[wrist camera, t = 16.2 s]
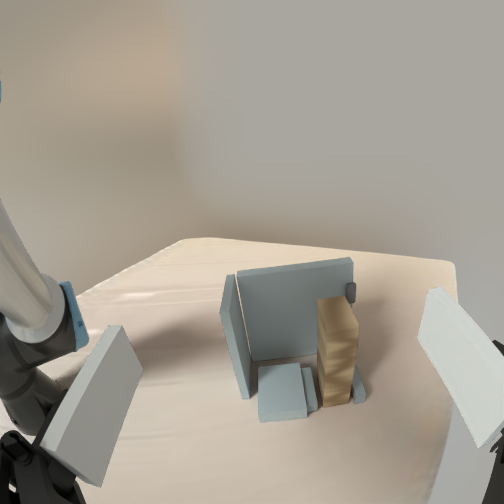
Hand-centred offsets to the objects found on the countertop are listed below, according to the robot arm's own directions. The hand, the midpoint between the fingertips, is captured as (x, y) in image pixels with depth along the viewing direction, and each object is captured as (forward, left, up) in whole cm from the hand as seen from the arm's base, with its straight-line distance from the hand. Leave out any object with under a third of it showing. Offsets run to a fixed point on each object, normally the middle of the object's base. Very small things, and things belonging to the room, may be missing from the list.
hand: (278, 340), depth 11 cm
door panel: (-11, +18, -30) cm, 37 cm away
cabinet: (-17, +16, -30) cm, 38 cm away
